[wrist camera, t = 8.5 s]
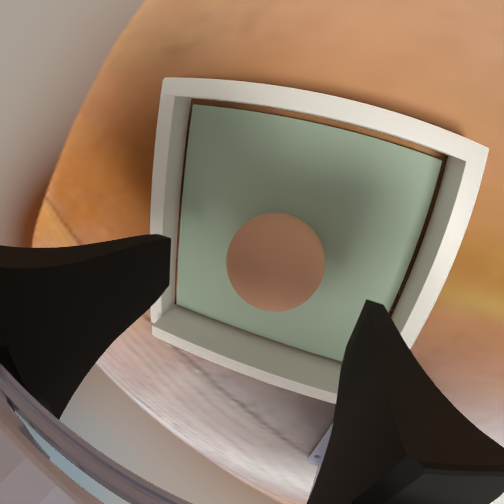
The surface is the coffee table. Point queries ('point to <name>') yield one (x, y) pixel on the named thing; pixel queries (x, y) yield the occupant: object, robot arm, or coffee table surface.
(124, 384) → the coffee table surface
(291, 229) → the ball
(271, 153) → the mat
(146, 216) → the coffee table surface
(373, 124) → the tray
